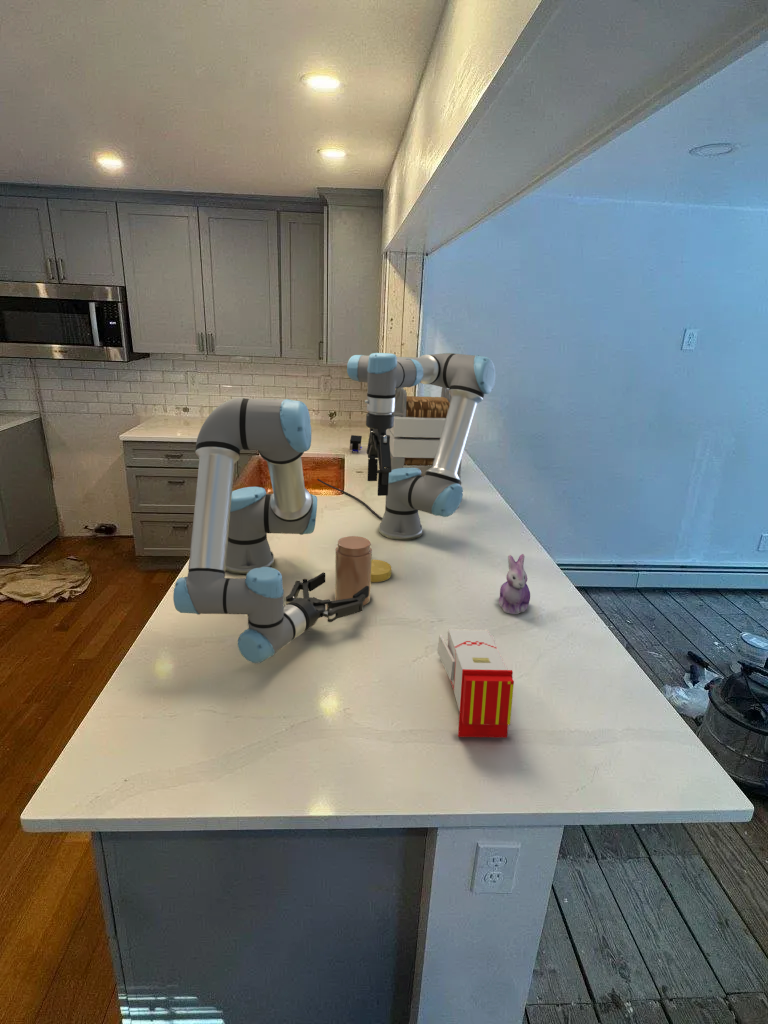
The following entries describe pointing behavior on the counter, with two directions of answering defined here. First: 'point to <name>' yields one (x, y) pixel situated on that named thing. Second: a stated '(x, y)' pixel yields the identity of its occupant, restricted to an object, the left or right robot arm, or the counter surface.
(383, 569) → the lid
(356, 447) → the figurine character
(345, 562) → the jar
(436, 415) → the white wooden crate
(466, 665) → the toy
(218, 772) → the counter surface
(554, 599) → the counter surface
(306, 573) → the counter surface
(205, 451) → the left robot arm
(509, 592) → the figurine
